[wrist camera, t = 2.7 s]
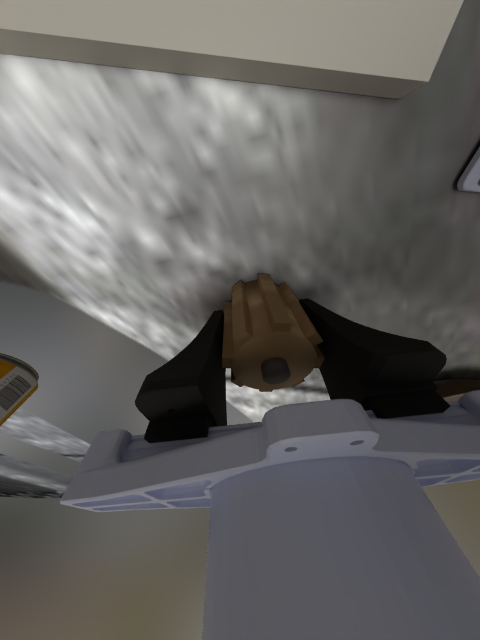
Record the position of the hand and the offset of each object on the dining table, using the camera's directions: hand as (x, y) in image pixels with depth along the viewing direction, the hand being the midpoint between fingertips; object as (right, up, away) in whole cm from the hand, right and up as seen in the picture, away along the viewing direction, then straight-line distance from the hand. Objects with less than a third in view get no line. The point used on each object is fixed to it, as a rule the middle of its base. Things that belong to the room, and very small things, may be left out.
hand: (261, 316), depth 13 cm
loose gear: (0, +1, +1) cm, 1 cm away
